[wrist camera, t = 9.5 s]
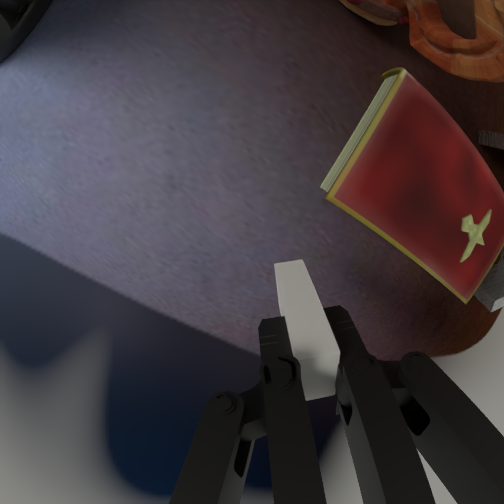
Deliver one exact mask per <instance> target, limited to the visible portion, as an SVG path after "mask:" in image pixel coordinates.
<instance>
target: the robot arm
mask: <svg viewBox="0 0 504 504" xmlns="http://www.w3.org/2000/svg"><path fill="white" fill-rule="evenodd" d="M51 1H52V0H0V62H1V61H3V60H4V59H5V58H7V57H8V56H9V55H10V54H11V53H12V52H13V51H14V50H15V49H16V48H17V47H18V46H19V45H20V44H21V42H22V41H23V40H24V39H25V38H26V37H27V35H28V34H29V33H30V32H31V30H32V29H33V28H34V26H35V25H36V24H37V22H38V21H39V19H40V18H41V16H42V15H43V13H44V12H45V10H46V9H47V7H48V6H49V4H50V2H51ZM274 268H275V276H276V284H277V292H278V301H279V307H280V312H281V317H275V318H268V319H262V321H261V323H260V325H259V327H258V331H259V341H260V352H261V362H262V364H261V366H260V375H261V380H260V381H259V383H258V384H257V385H256V386H255V387H253V388H252V389H250V390H248V391H245V392H243V393H240V394H237V393H235V392H231V391H221V392H218V393H216V394H214V395H213V396H212V397H210V398H209V400H208V401H207V403H206V405H205V408H204V410H203V413H202V416H201V419H200V421H199V424H198V427H197V430H196V432H195V435H194V438H193V440H192V443H191V446H190V449H189V451H188V454H187V457H186V459H185V462H184V465H183V468H182V470H181V473H180V475H179V478H178V481H177V484H176V486H175V489H174V491H173V494H172V497H171V499H170V502H169V504H239V503H240V499H241V495H242V491H243V487H244V483H245V479H246V475H247V471H248V467H249V463H250V459H251V454H252V450H253V446H254V442H255V439H257V438H260V437H262V436H264V435H267V436H268V446H269V456H270V467H271V477H272V487H273V497H274V504H327V503H326V498H325V493H324V487H323V482H322V477H321V472H320V467H319V462H318V457H317V452H316V447H315V442H314V437H313V433H312V428H311V423H310V419H309V414H308V409H307V404H306V401H307V400H312V399H317V398H322V397H327V396H331V395H335V390H336V391H337V394H338V403H337V408H336V415H338V414H339V411H340V415H341V418H342V422H343V426H344V429H345V433H346V436H347V440H348V444H349V447H350V451H351V455H352V459H353V463H354V466H355V470H356V474H357V478H358V482H359V486H360V490H361V495H362V499H363V503H364V504H435V500H434V497H433V494H432V491H431V488H430V485H429V482H428V479H427V476H426V473H425V471H424V468H423V465H422V462H421V459H420V457H419V454H418V451H419V452H420V453H421V455H422V456H423V457H424V459H425V460H426V461H427V463H428V464H429V465H430V467H431V468H432V469H433V471H434V472H435V473H436V475H437V476H438V477H439V479H440V480H441V482H442V483H443V484H444V486H445V487H446V488H447V490H448V491H449V492H450V494H451V495H452V497H453V498H454V499H455V501H456V502H457V503H458V504H504V437H503V435H502V434H501V433H500V432H499V431H498V430H497V428H496V427H495V426H494V425H493V424H492V423H491V422H490V421H489V419H488V418H487V417H486V416H485V415H484V414H483V413H482V412H481V411H480V409H479V408H478V407H477V406H476V405H475V404H474V403H473V402H472V401H471V400H470V399H469V398H468V396H467V395H466V394H465V393H464V392H463V391H462V390H461V389H460V388H459V387H458V386H457V385H456V384H455V383H454V382H453V381H452V380H451V379H450V378H449V377H448V376H447V375H446V374H445V373H444V372H443V371H442V369H441V368H440V367H438V365H437V364H436V363H435V362H434V361H433V360H432V359H431V358H430V357H429V356H427V355H426V354H424V353H421V352H418V351H417V352H410V353H407V354H405V355H404V356H403V357H402V359H401V361H381V360H378V359H376V357H375V356H373V355H371V354H369V353H368V351H367V350H366V348H365V345H364V343H363V341H362V339H361V337H360V335H359V333H358V331H357V329H356V327H355V325H354V323H353V321H352V319H351V317H350V315H349V313H348V311H347V310H345V309H344V308H343V307H341V306H340V305H338V306H333V307H328V308H323V307H322V305H321V302H320V300H319V298H318V295H317V293H316V290H315V288H314V286H313V283H312V281H311V278H310V276H309V274H308V271H307V269H306V267H305V265H304V262H303V260H296V261H289V262H283V263H276V264H274ZM416 448H417V449H418V451H417V449H416Z"/></svg>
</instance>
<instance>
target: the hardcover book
mask: <svg viewBox="0 0 504 504" xmlns="http://www.w3.org/2000/svg"><path fill="white" fill-rule="evenodd" d="M382 77H383V78H384V79H385V80H384V82H383V84H382V85H381V87H380V89H379V90H378V92H377V94H376V95H375V97H374V99H373V101H372V102H371V104H370V106H369V107H368V109H367V111H366V112H365V114H364V116H363V117H362V119H361V121H360V122H359V124H358V126H357V127H356V129H355V131H354V132H353V134H352V136H351V137H350V139H349V141H348V142H347V144H346V145H345V147H344V149H343V150H342V152H341V154H340V155H339V157H338V159H337V160H336V162H335V163H334V165H333V167H332V168H331V170H330V171H329V173H328V175H327V176H326V178H325V179H324V181H323V183H322V184H321V186H320V187H321V188H322V189H324V190H325V191H326V192H327V194H326V195H325V197H324V198H326V199H327V200H329V201H330V202H332V203H333V204H335V205H336V206H338V207H339V208H341V209H342V210H344V211H345V212H347V213H348V214H350V215H351V216H353V217H354V218H356V219H357V220H359V221H360V222H362V223H363V224H365V225H366V226H367V227H369V228H370V229H372V230H373V231H374V232H376V233H377V234H379V235H380V236H381V237H383V238H384V239H386V240H387V241H388V242H390V243H391V244H392V245H394V246H395V247H396V248H398V249H399V250H400V251H402V252H403V253H404V254H406V255H407V256H408V257H410V258H411V259H412V260H413V261H415V262H416V263H417V264H419V265H420V266H421V267H422V268H424V269H425V270H426V271H427V272H429V273H430V274H431V275H432V276H433V277H435V278H436V279H437V280H438V281H440V282H441V283H442V284H443V285H444V286H445V287H447V288H448V289H449V290H450V291H451V292H452V293H454V294H455V295H456V296H457V297H458V298H459V299H460V300H462V301H463V302H464V303H465V304H467V303H468V301H469V300H470V299H471V297H472V296H473V294H474V293H475V292H476V290H477V289H478V287H479V286H480V284H481V283H482V281H483V280H484V278H485V277H486V275H487V274H488V272H489V270H490V269H491V267H492V266H493V264H494V262H495V261H496V259H497V257H498V256H499V254H500V252H501V250H502V249H503V247H504V192H503V190H502V188H501V187H500V185H499V183H498V181H497V180H496V178H495V176H494V175H493V173H492V172H491V170H490V168H489V167H488V165H487V164H486V162H485V161H484V159H483V158H482V156H481V155H480V154H479V152H478V151H477V149H476V148H475V146H474V145H473V144H472V142H471V141H470V140H469V138H468V137H467V136H466V134H465V133H464V132H463V131H462V129H461V128H460V127H459V126H458V124H457V123H456V122H455V121H454V119H453V118H452V117H451V116H450V115H449V114H448V112H447V111H446V110H445V109H444V108H443V107H442V106H441V105H440V104H439V102H438V101H437V100H436V99H435V98H434V97H433V96H432V95H431V94H430V93H429V92H428V91H427V90H426V89H425V88H424V87H423V86H422V85H421V84H420V83H419V82H418V81H417V80H416V79H415V78H414V77H413V76H412V75H411V74H409V73H408V72H407V71H406V70H405V69H404V68H403V67H397V68H394V69H391V70H388V71H386V72H384V73H383V74H382Z"/></svg>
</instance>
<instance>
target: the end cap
mask: <svg viewBox="0 0 504 504" xmlns="http://www.w3.org/2000/svg"><path fill="white" fill-rule="evenodd" d="M478 144H481V145H486V146H490V147H495V148H499V149H503V150H504V134H501V133H495V132H489V131H483V130H478ZM473 295H474V296H475V297H476V298H477V299H478V300H479V301H480V302H481V303H482V304H483V305H484V306H485V307H486V308H487V309H488V310H489V311H490V312H493V311H495V310H497V309H499V308H501V307H503V306H504V247H503V249H502V251H501V255H500V260H499V263H498V264H495V265H493V266H492V267H491V269H490V270H489V272H488V274H487V275H486V277H485V278H484V280H483V281H482V283H481V284H480V286H479V287H478V289H477V290H476V292H475V293H474V294H473Z"/></svg>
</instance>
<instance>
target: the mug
mask: <svg viewBox="0 0 504 504" xmlns="http://www.w3.org/2000/svg"><path fill="white" fill-rule="evenodd" d="M340 2H341V3H342V4H343V5H344V6H345V7H347V8H348V9H350V10H351V11H352V12H354V13H356V14H358V15H360V16H362V17H363V18H365V19H367V20H369V21H371V22H373V23H375V24H378V25H384V26H391V25H396V24H397V23H398V22H399V23H400V24H401V25H409V24H410V30H409V40H410V45H411V46H412V47H413V48H415V49H416V50H417V51H418V52H419V53H420V54H421V55H423V56H424V57H425V58H426V59H428V60H429V61H430V62H431V63H433V64H435V65H436V66H438V67H440V68H441V69H442V70H444V71H445V72H448V73H450V74H453V75H456V76H459V77H462V78H465V79H469V80H474V81H487V82H498V83H499V82H504V0H474V12H475V28H476V38H475V39H470V40H469V39H465V38H463V37H461V36H459V35H457V34H455V33H453V32H452V31H451V30H450V29H449V28H448V26H447V25H446V24H445V22H444V21H443V18H442V14H441V11H440V8H439V5H438V1H437V0H340Z"/></svg>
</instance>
